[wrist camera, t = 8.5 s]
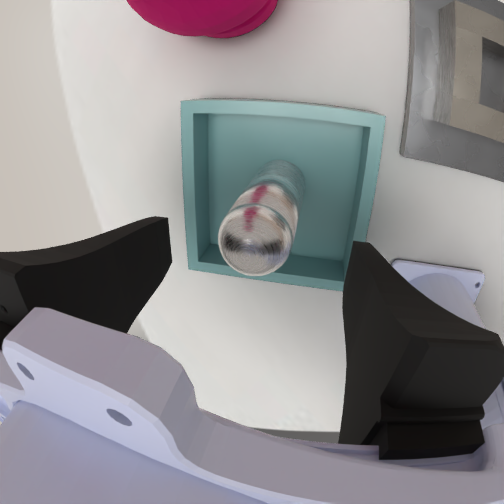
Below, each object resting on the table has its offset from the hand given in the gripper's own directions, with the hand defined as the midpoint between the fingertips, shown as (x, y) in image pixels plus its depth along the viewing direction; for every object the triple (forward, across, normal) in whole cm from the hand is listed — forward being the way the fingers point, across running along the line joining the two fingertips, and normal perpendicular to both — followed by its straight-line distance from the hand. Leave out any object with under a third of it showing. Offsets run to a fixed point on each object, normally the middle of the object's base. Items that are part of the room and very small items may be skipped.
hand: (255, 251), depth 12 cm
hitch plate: (+9, -12, -9) cm, 17 cm away
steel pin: (+8, 0, 0) cm, 8 cm away
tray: (+8, 0, 0) cm, 9 cm away
